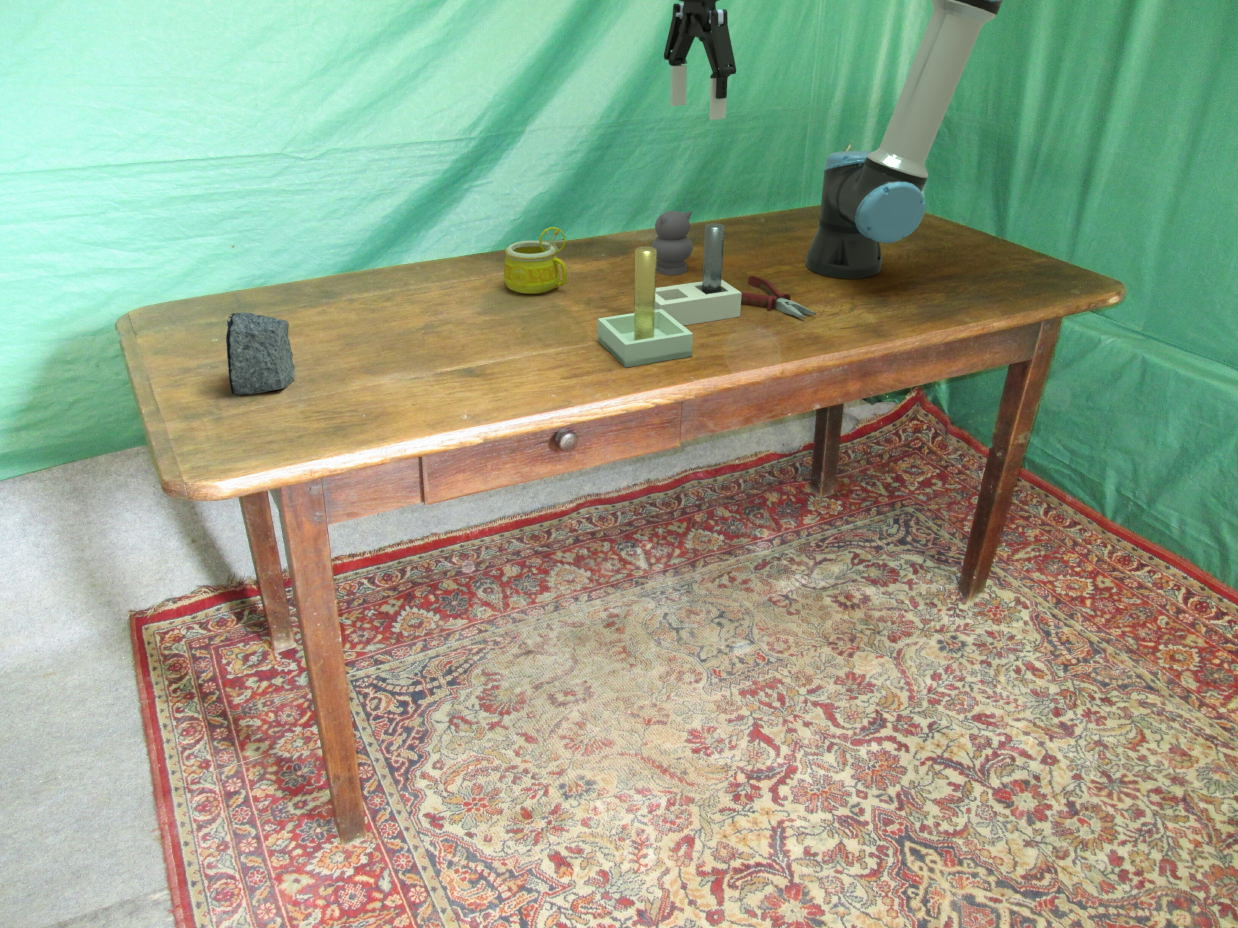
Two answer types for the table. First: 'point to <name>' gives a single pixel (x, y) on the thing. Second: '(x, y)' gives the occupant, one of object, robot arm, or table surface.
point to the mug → (534, 265)
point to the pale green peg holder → (698, 303)
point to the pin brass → (644, 292)
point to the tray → (664, 346)
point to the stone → (258, 354)
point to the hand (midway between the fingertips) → (697, 112)
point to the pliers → (772, 299)
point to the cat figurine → (672, 242)
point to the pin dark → (713, 258)
